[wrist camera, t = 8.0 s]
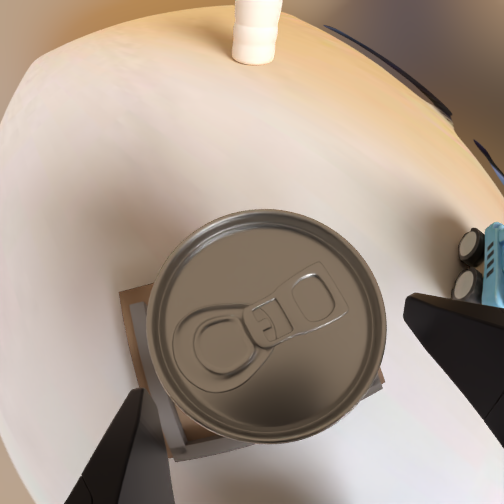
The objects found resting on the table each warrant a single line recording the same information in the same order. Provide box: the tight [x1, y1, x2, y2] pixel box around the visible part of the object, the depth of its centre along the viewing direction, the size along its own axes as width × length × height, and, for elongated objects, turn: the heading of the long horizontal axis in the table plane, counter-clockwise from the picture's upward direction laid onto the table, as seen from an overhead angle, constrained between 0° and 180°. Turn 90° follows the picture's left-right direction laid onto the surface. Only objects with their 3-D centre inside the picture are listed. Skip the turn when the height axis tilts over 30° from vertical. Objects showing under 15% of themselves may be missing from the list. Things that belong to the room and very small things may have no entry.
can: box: [146, 209, 387, 444], centre depth 11 cm, size 6×6×12 cm
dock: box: [119, 283, 385, 462], centre depth 17 cm, size 12×16×4 cm
